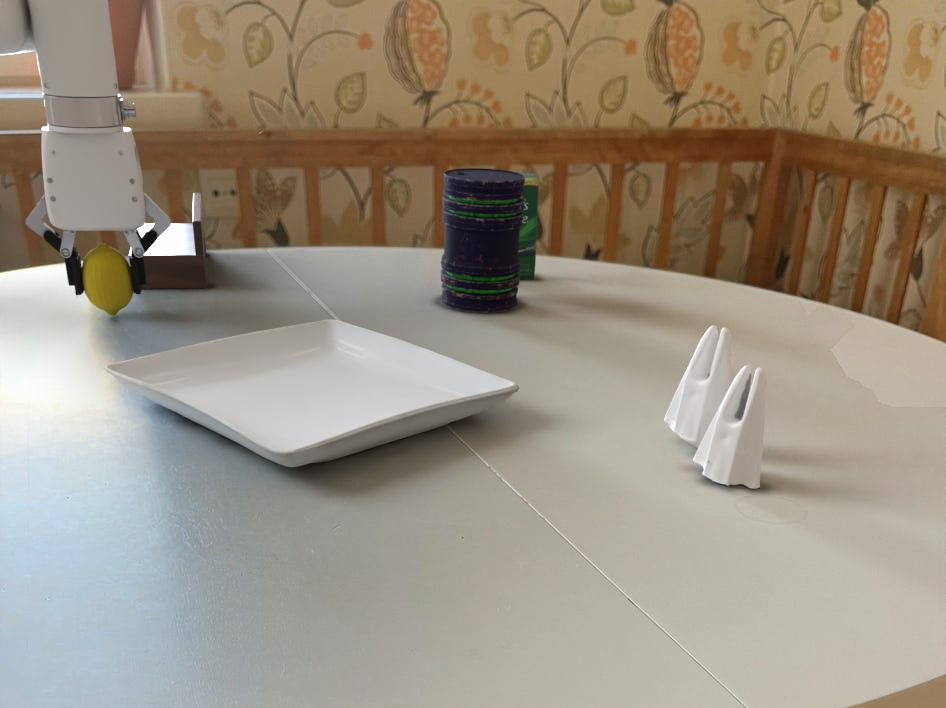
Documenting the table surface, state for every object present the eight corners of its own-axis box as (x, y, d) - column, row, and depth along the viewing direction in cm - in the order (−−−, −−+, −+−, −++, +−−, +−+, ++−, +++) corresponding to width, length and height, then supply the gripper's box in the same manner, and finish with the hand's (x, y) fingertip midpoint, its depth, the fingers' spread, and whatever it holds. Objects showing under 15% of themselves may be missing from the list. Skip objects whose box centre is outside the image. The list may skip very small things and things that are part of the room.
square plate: (286, 497, 80) (283, 449, 78) (103, 402, 96) (96, 360, 94) (522, 418, 97) (524, 377, 95) (333, 349, 113) (332, 312, 111)
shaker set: (658, 438, 94) (675, 313, 88) (701, 435, 95) (721, 312, 89) (716, 492, 85) (739, 356, 79) (763, 488, 86) (789, 354, 80)
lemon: (86, 323, 117) (75, 248, 113) (88, 310, 121) (77, 238, 117) (138, 322, 118) (128, 248, 114) (138, 309, 123) (129, 237, 119)
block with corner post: (140, 253, 147) (132, 192, 143) (206, 253, 149) (200, 192, 145) (132, 288, 131) (124, 220, 126) (207, 287, 132) (200, 221, 128)
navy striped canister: (522, 296, 136) (530, 171, 128) (513, 316, 127) (521, 183, 119) (447, 290, 137) (450, 166, 129) (433, 309, 128) (435, 177, 120)
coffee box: (476, 278, 143) (480, 174, 136) (474, 273, 145) (478, 171, 138) (534, 280, 143) (541, 176, 136) (531, 275, 146) (538, 173, 139)
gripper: (170, 112, 114) (188, 283, 123) (1, 108, 110) (33, 284, 120) (168, 120, 108) (187, 299, 117) (-11, 116, 104) (24, 301, 114)
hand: (109, 290), depth 118 cm, fingers closed on lemon, 5 cm apart
